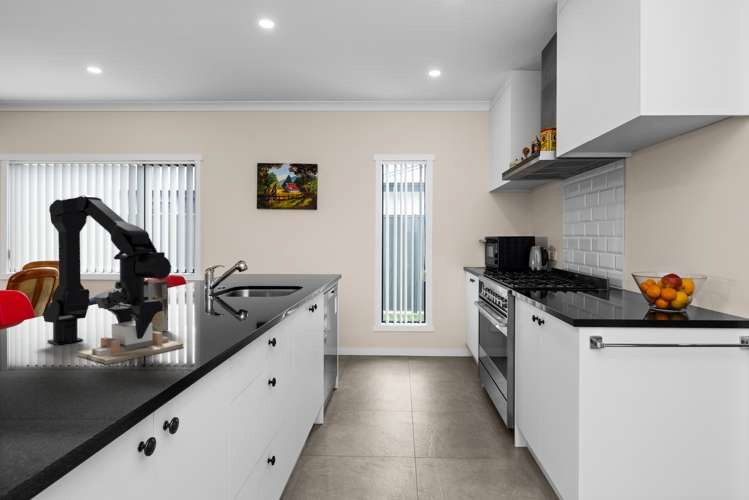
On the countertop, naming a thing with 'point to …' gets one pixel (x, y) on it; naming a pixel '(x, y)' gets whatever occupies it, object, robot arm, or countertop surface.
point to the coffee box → (160, 292)
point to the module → (131, 335)
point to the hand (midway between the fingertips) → (132, 336)
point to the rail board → (115, 351)
